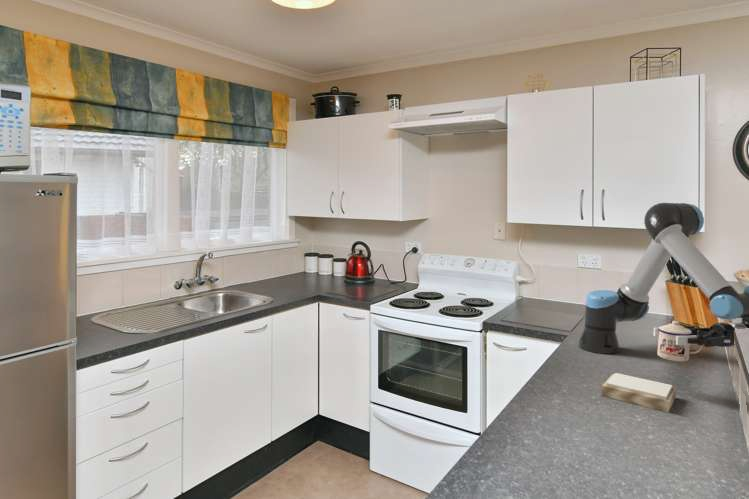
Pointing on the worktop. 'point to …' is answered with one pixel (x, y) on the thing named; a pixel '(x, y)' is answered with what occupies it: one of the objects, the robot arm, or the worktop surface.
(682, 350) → the teacup with lid
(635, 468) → the worktop surface
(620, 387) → the oak tea stand
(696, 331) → the robot arm
